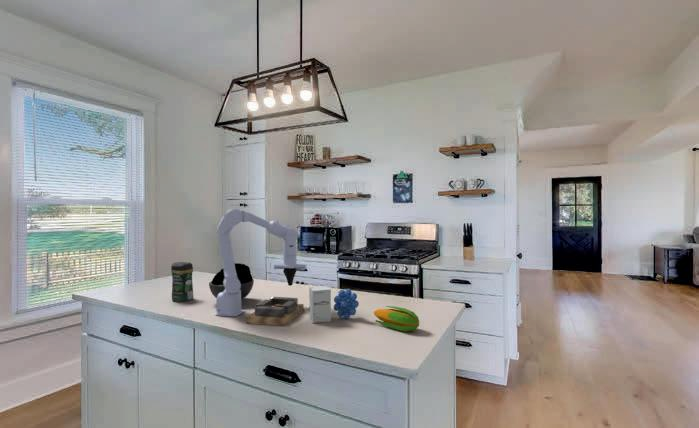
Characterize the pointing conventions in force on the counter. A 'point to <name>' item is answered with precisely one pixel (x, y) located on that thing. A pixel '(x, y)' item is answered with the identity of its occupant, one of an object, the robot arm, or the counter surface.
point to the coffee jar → (182, 281)
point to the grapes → (346, 303)
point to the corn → (397, 318)
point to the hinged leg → (282, 300)
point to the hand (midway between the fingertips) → (290, 285)
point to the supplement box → (320, 304)
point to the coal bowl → (242, 276)
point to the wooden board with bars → (274, 313)
